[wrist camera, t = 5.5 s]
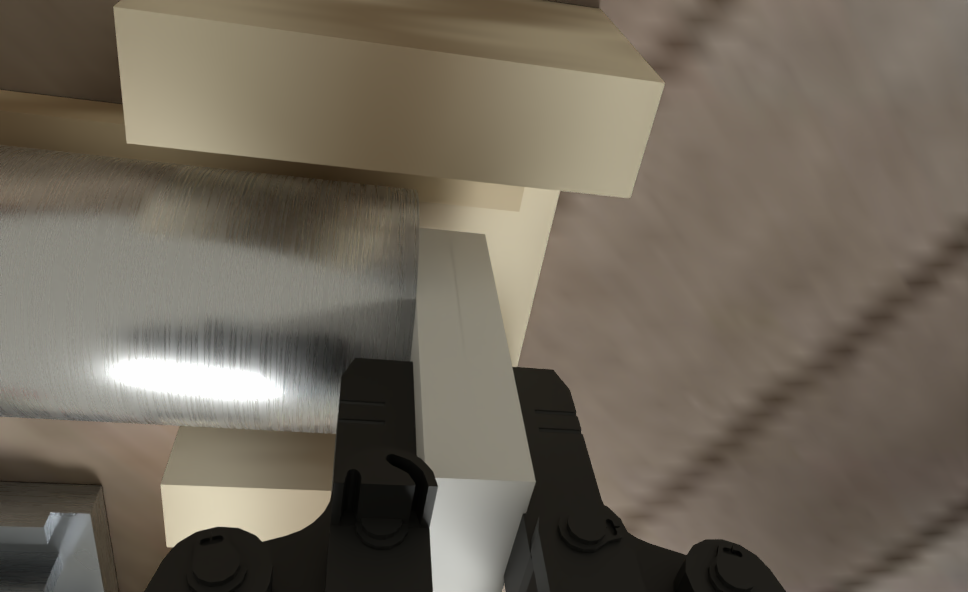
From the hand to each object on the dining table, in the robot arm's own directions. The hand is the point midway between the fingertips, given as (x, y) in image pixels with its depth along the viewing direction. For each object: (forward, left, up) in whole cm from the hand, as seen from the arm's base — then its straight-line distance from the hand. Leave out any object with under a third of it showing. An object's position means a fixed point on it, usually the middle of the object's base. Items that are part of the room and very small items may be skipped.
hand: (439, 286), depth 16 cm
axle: (+6, 0, -2) cm, 6 cm away
